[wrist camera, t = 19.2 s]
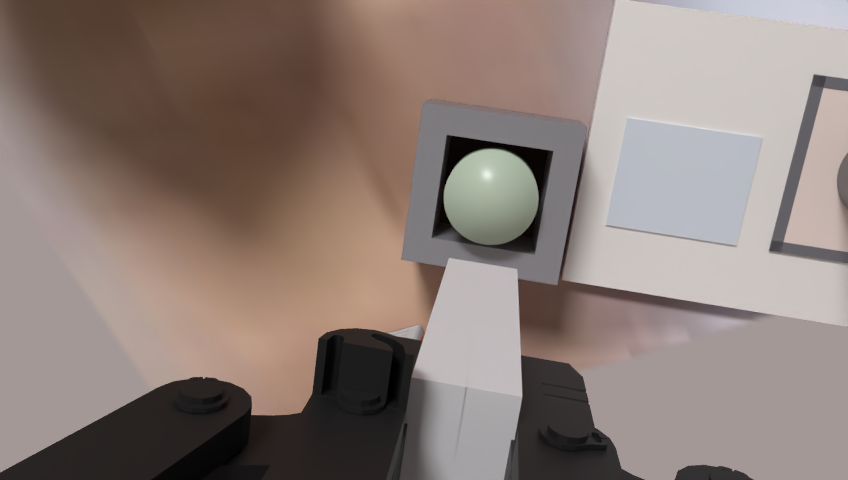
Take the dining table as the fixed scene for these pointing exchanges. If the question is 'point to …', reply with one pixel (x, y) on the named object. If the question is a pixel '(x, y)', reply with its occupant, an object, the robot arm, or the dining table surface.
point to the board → (717, 163)
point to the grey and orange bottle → (843, 180)
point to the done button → (491, 196)
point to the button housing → (449, 119)
